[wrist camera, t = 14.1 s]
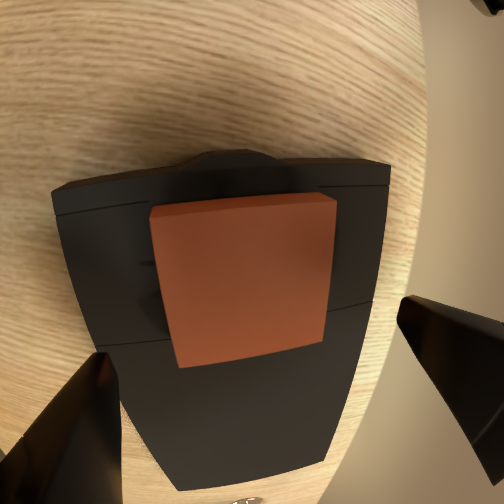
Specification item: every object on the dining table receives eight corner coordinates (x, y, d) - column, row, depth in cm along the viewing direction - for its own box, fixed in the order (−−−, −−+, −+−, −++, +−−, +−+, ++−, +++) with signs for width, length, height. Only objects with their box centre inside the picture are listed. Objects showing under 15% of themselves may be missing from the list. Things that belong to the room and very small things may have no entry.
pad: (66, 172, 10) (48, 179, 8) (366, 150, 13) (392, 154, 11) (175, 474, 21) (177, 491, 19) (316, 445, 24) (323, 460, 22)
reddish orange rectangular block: (292, 179, 13) (337, 200, 9) (289, 295, 15) (322, 341, 12) (156, 191, 12) (148, 217, 8) (174, 312, 14) (178, 368, 10)
